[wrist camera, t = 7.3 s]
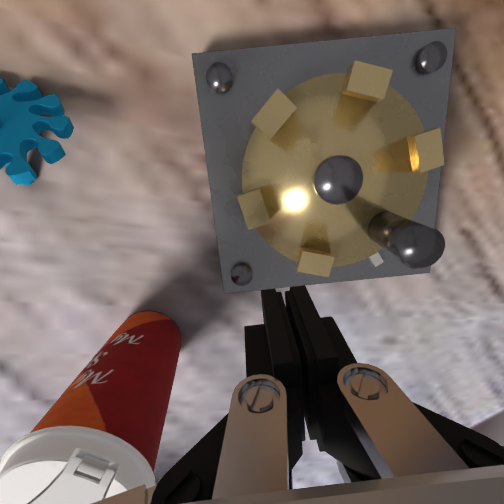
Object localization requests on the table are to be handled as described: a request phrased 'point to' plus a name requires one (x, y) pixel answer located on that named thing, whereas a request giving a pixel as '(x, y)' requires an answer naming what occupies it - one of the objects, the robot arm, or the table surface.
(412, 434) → the robot arm
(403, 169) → the brass paddle wheel
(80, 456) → the coffee cup
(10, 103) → the gear
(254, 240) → the base plate
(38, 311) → the table surface
